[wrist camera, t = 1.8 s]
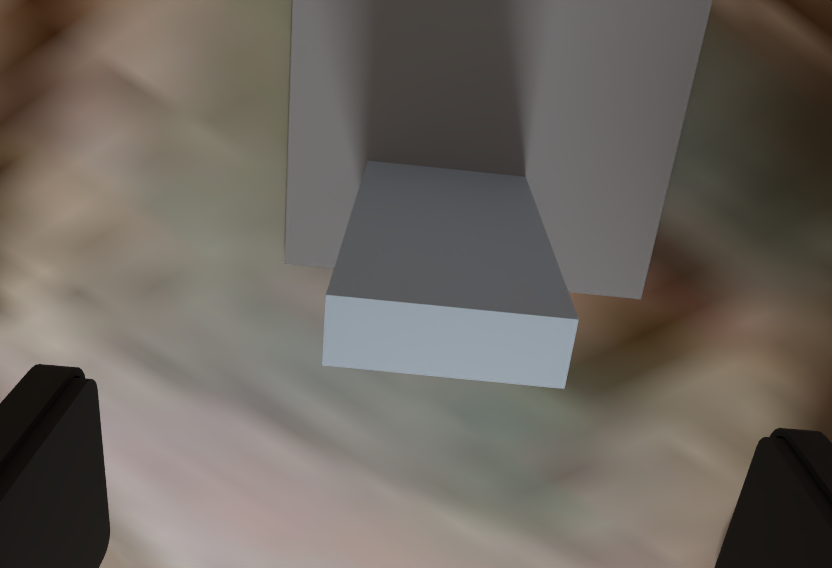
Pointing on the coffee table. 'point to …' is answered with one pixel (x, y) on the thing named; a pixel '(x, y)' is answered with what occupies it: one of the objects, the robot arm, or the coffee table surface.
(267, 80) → the coffee table surface
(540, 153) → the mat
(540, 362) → the gray block
